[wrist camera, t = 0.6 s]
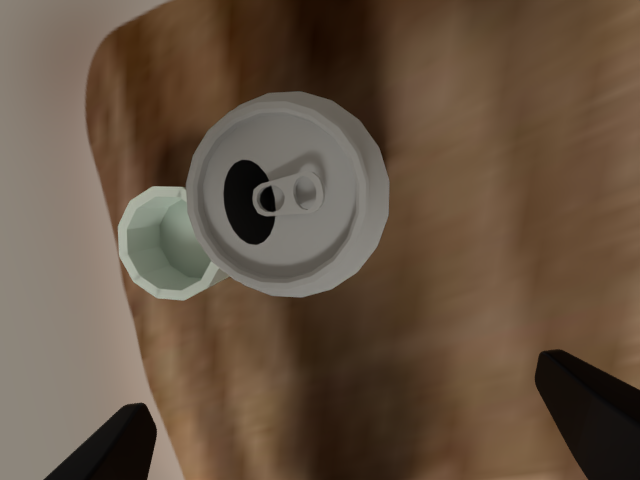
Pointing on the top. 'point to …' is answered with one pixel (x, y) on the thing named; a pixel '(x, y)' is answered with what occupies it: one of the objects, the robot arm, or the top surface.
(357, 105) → the top surface
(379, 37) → the top surface
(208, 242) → the can
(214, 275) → the bowl
